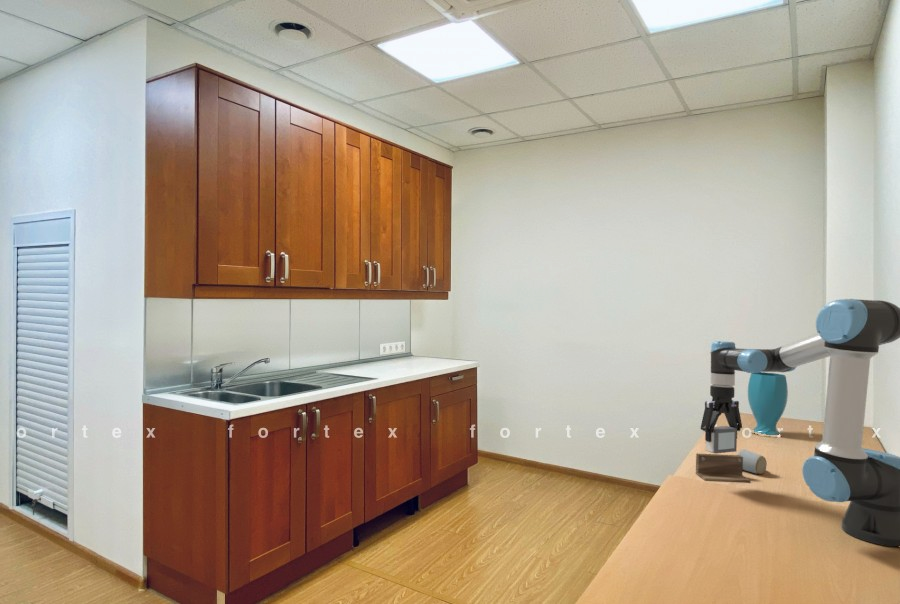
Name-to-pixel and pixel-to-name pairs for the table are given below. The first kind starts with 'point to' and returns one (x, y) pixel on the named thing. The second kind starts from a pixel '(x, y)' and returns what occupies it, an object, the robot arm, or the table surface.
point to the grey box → (725, 439)
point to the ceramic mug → (753, 462)
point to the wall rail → (720, 467)
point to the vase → (767, 400)
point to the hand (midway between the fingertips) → (721, 450)
